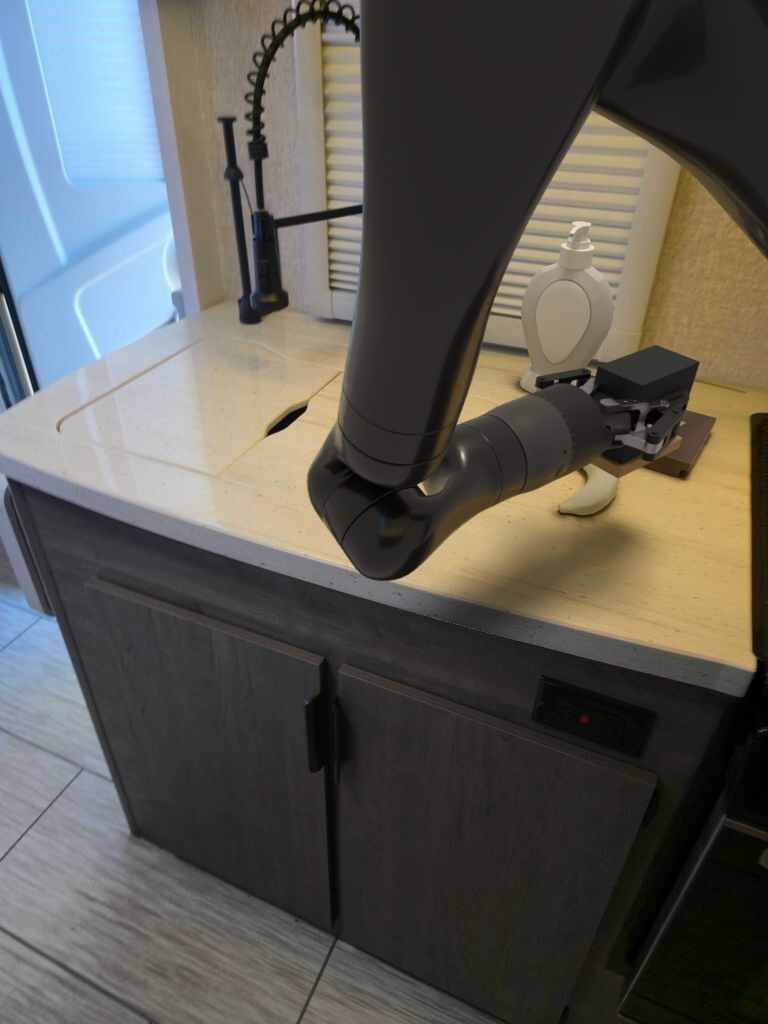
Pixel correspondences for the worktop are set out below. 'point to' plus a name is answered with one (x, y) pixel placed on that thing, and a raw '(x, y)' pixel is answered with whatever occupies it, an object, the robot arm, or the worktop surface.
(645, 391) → the matte black box
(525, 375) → the soap bottle
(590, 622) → the worktop surface
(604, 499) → the fruit
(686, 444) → the wooden base
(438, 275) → the robot arm
